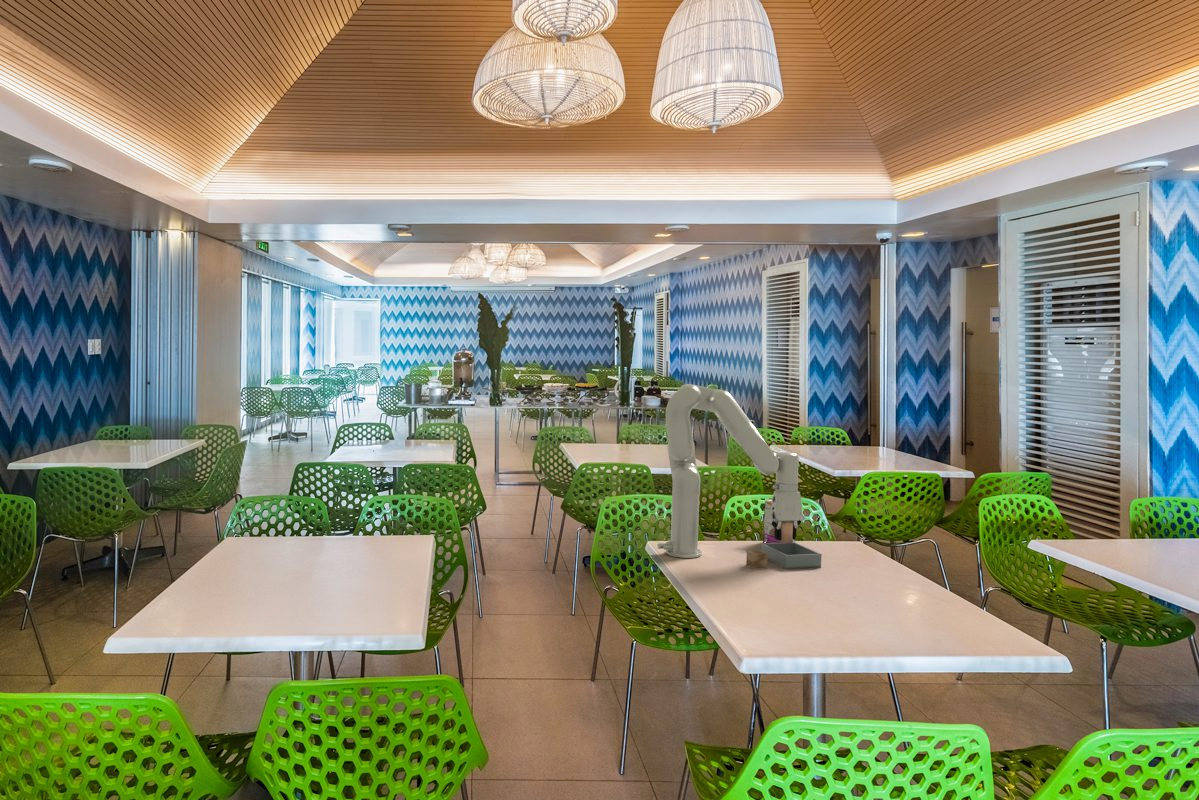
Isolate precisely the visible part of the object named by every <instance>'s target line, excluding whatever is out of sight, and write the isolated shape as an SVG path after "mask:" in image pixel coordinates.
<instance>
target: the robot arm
mask: <svg viewBox="0 0 1199 800" xmlns="http://www.w3.org/2000/svg"><path fill="white" fill-rule="evenodd" d="M693 409H696V410H700V411H704V412H705V411H706V412H711V413H713V414H714V415H715V416H716V417H717V419H718V420H719V421H720V423H721V424H722V425H723V427H724V428H725V430H726V431H727V433H728V434H729V435H730V437H731V438H732V439H733V440H734V441H735V442H736V443H737V445H739V446H740V447H741V448H742V450H743V451H744V452H745V453H746V454H747V456H748V457H749V458H750V460H751V461H752V463H753V466H754V468H755V469H756V470H758V471H759V472H760V473H761V474H762V475H765V476H771V475H774V474H775V483H774V484H773V485H772V489H773V490H774V491H773V494H772V498H771V500H772V505H771V513H770V514H769V515H768V517H767V518H766V520H767V521H768V522H770V523H771V525H772V526H773V527H774V528H775V532H774V536H775V539H777V540H779V541H780V540H781V529H780V526H781V523H782V521H792V522H793V540H795V541H796V537H797V529H798V528H799V526H800V524H801V523H803V521H804V520H806V517H805V515H804V513H803V503H802V495H801V492H800V491H799V488H798V487H799V459H800V458H799V454H797V453H796V452H792V451H791V452H789V451H786V452H785V451H782V452H778V451H777V452H775V451H773V450H772V449H771V448H770V446H769V444H768V443H767V442H766V441H765V439H764V438H763V437H762V435H761V434H760V433H759V431H758V430H757V427H755V425H754V423H752V421H751V420H750V418H749V417H748V415H746V413H745V411H744V410H743V409H742V407H741V406H740V405H739V404H738V402H737V401H736V399H735V398H734V397H733V396H732V394H731V393H730V392H728V391H727V390H724V389H717V388H711V387H706V386H700V385H696V384H691V383H685V384H682V385H681V386H679V388H678V389H677V391H675V393H673V394H672V396H671V397H670V398H669V400H668V402H667V405H666V408H665V423H666V425H665V426H666V433H667V440H668V441H667V453H668V460H669V466H670V472H671V477H672V478H671V479H672V490H671V491H672V493H671V520H670V521H671V523H670V539H668V540H667V541H666V542H665V543H663V542H661V543H660V542H658V543H657V544H656V545H657V549H660V550H662V549H663V551H664V550H665V553H666V555H668V556H671V557H674V558H679V559H680V558H682V559H691V558H692V559H693V558H699V557H701V556H702V553H703V551H702V550H700V549H699V548H698V545H699V544H698V542H699V540H698V539H699V518H700V517H699V516H700V515H699V514H700V513H699V512H700V510H699V509H700V493H701V475H700V473H699V470H698V467H697V459H696V453H695V449H696V448H695V447H696V445H695V441H694V438H693V432H692V424H691V412H692V410H693ZM772 518H773V519H775V521H773V520H772Z"/></svg>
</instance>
